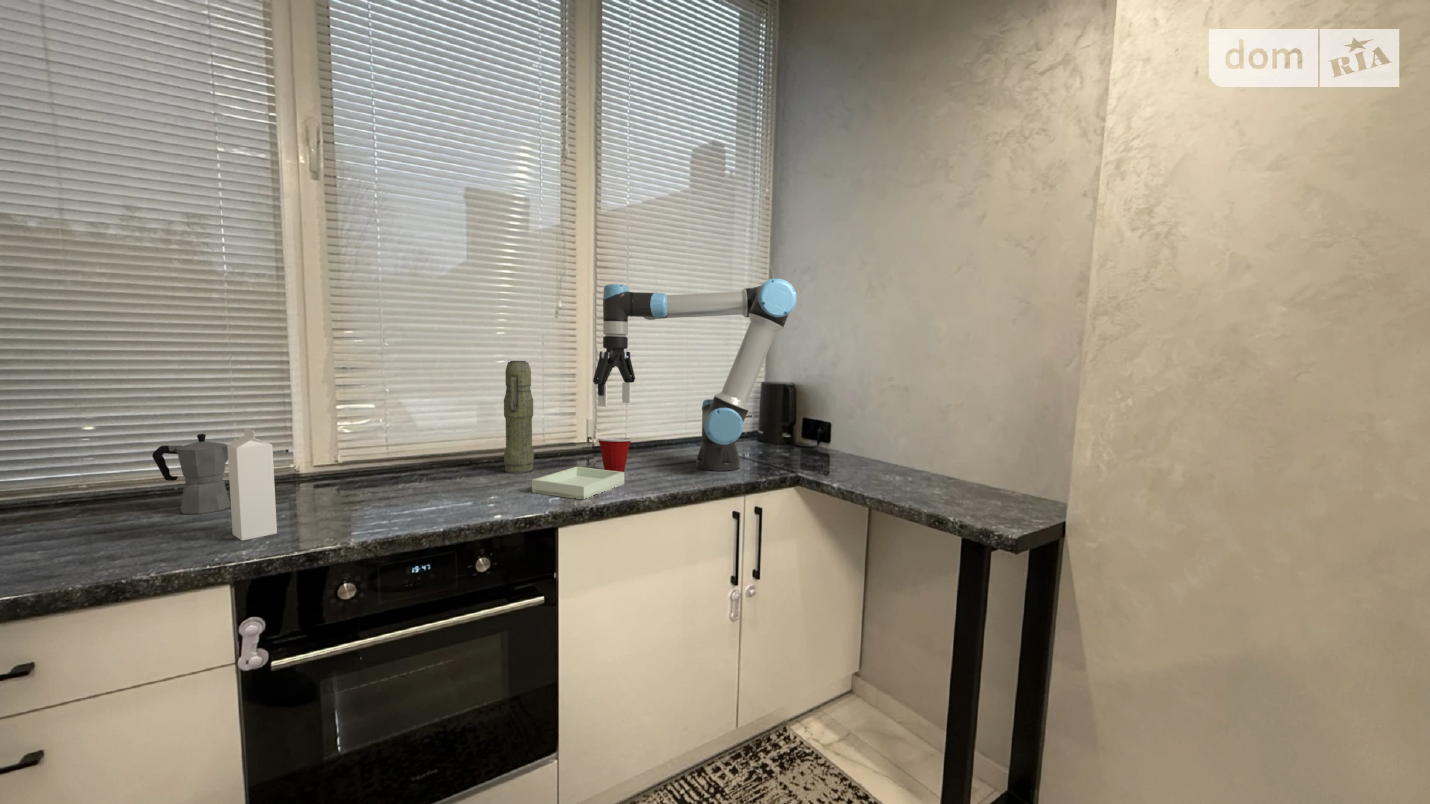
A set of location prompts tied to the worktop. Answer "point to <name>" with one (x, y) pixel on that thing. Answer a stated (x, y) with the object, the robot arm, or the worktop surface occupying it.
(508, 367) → the thermos
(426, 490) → the worktop surface
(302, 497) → the worktop surface
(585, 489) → the tray
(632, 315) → the robot arm
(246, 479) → the milk
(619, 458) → the plastic cup
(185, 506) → the coffeepot
